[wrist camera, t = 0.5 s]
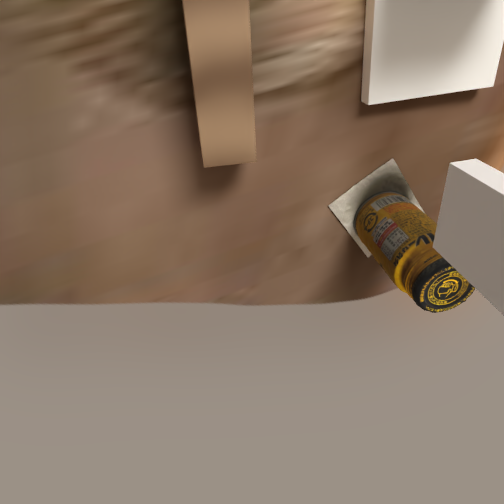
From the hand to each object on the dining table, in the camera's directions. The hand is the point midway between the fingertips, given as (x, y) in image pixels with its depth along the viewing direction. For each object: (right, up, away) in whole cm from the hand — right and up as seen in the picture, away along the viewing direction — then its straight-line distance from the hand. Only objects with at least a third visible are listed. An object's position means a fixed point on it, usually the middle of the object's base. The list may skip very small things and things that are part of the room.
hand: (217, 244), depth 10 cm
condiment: (+14, +4, +29) cm, 32 cm away
